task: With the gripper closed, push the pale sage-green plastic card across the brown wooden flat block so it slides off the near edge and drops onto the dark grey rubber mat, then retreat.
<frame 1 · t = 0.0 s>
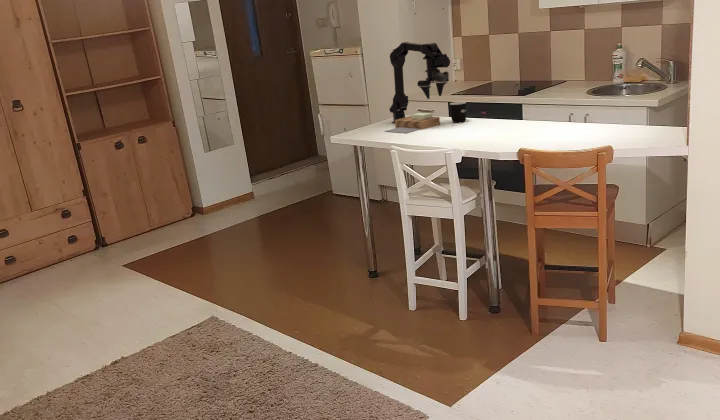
hand: (434, 97, 351), 15 cm above the table, fingers open, 9 cm apart
mug: (460, 121, 358), on the table
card: (422, 117, 358), point 4 cm above the table, touching brown wooden flat block
brown wooden flat block: (417, 126, 358), on the table
mat: (402, 130, 349), on the table
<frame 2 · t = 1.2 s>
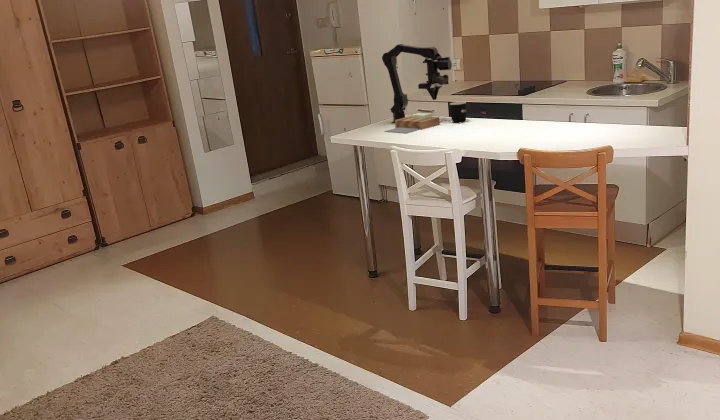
hand: (434, 99, 362), 12 cm above the table, fingers closed
nothing on the table moved.
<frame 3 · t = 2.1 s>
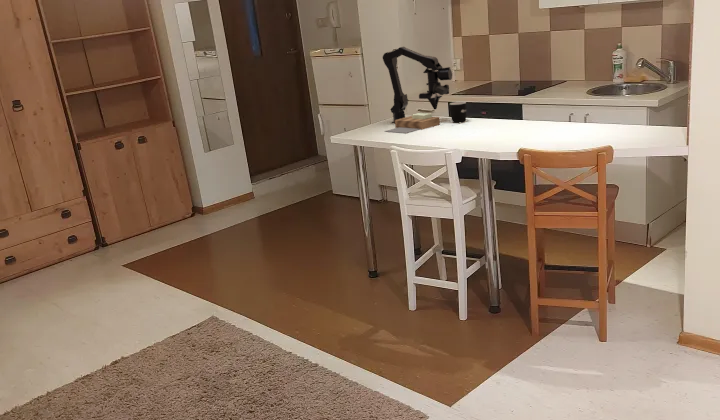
hand: (435, 109, 364), 7 cm above the table, fingers closed
nothing on the table moved.
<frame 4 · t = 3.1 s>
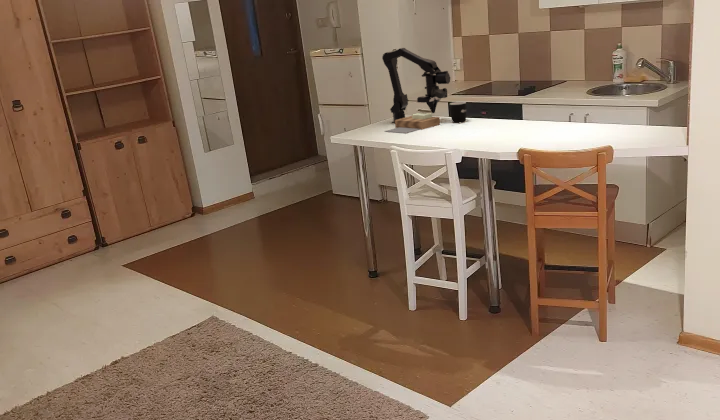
hand: (433, 112, 363), 5 cm above the table, fingers closed
nothing on the table moved.
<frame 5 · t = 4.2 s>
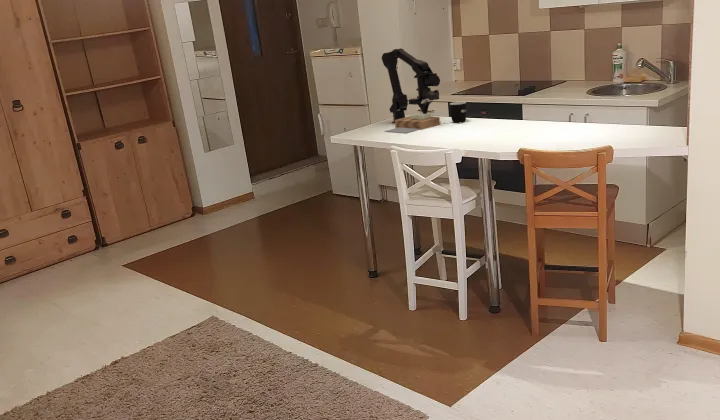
hand: (425, 115, 359), 5 cm above the table, fingers closed
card: (420, 118, 357), point 4 cm above the table, touching gripper
everything else where it was.
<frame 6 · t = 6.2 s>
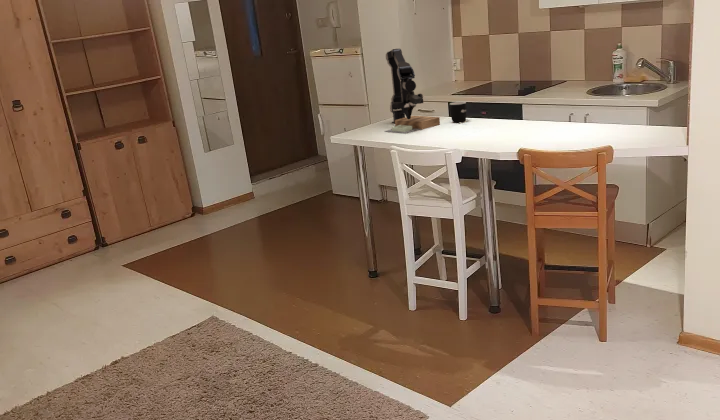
hand: (409, 119, 351), 5 cm above the table, fingers closed
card: (401, 126, 348), point 2 cm above the table, tilted 180°, touching mat
everything else where it was.
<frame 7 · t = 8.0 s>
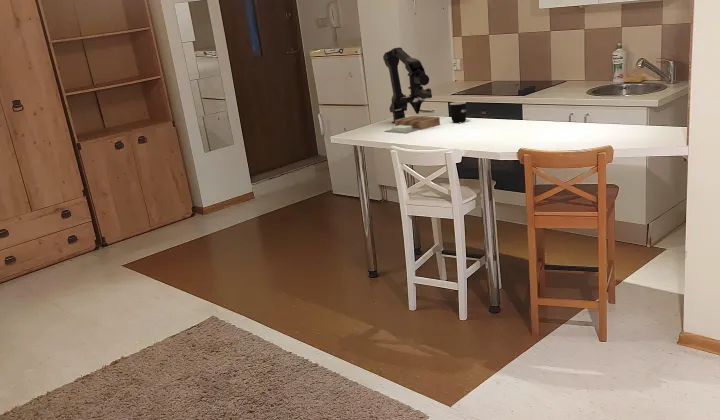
hand: (417, 113, 355), 7 cm above the table, fingers closed
nothing on the table moved.
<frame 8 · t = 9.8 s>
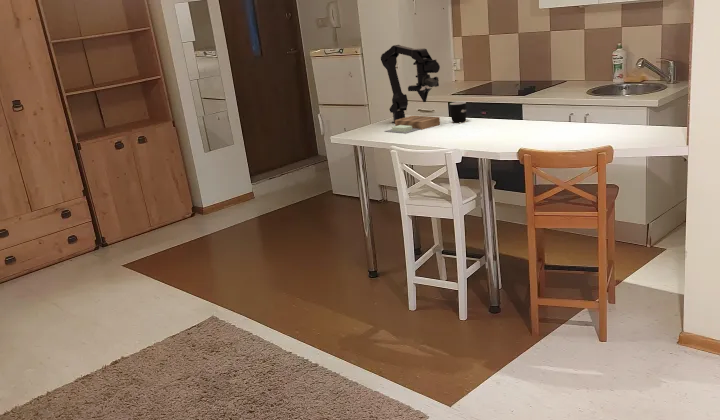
hand: (424, 102, 357), 12 cm above the table, fingers closed
nothing on the table moved.
at the end: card inside the target area on the mat (0.5 cm from its centre), point 2.3 cm above the mat's base; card point 2.3 cm above the table; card touching mat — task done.
